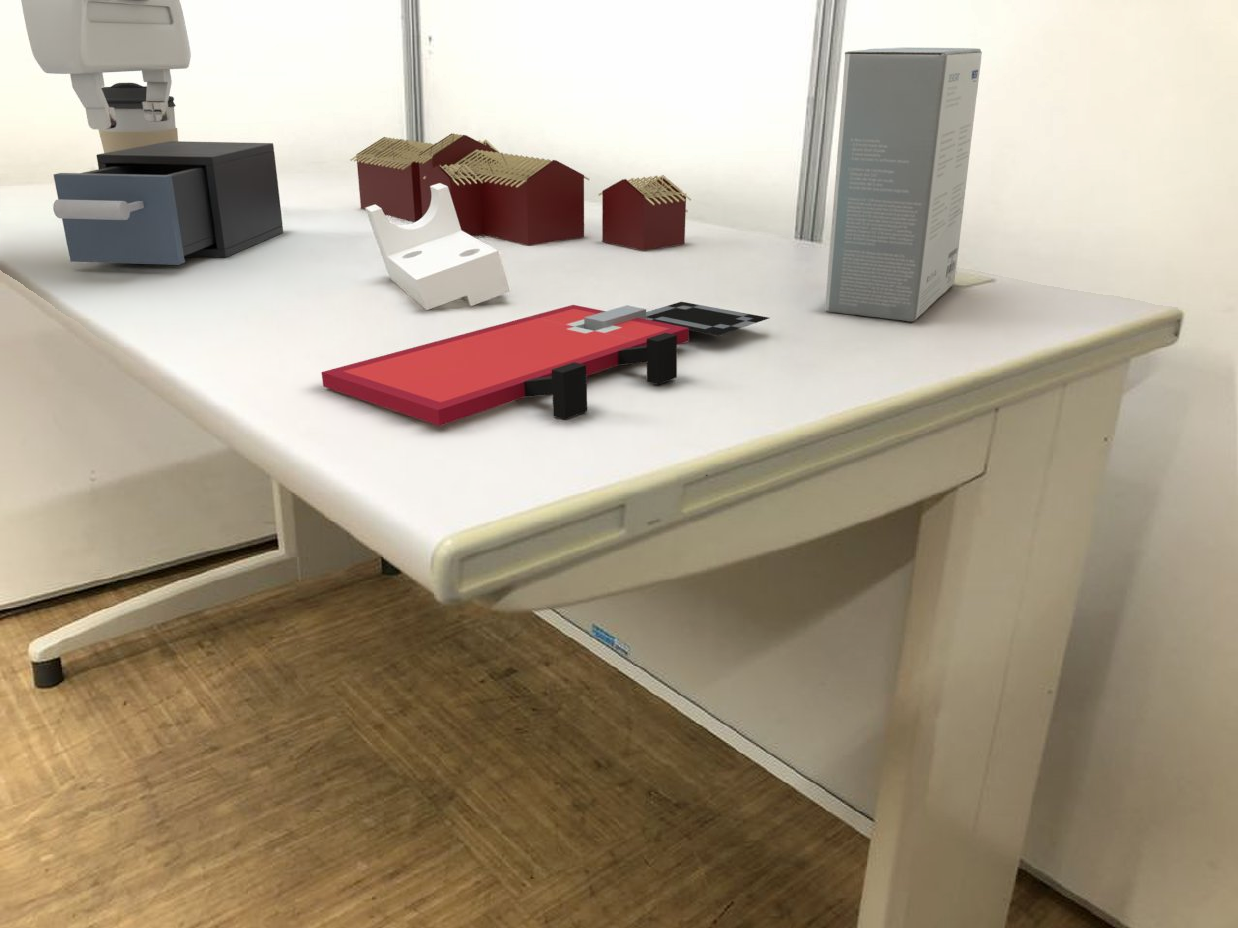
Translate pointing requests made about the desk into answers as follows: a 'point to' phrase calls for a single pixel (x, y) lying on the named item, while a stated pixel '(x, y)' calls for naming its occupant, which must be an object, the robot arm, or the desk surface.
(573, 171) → the toy houses
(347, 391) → the red board with handle
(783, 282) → the desk surface
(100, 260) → the drawer
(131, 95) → the coffee cup
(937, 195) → the hard drive box
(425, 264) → the bracket
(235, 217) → the cabinet
